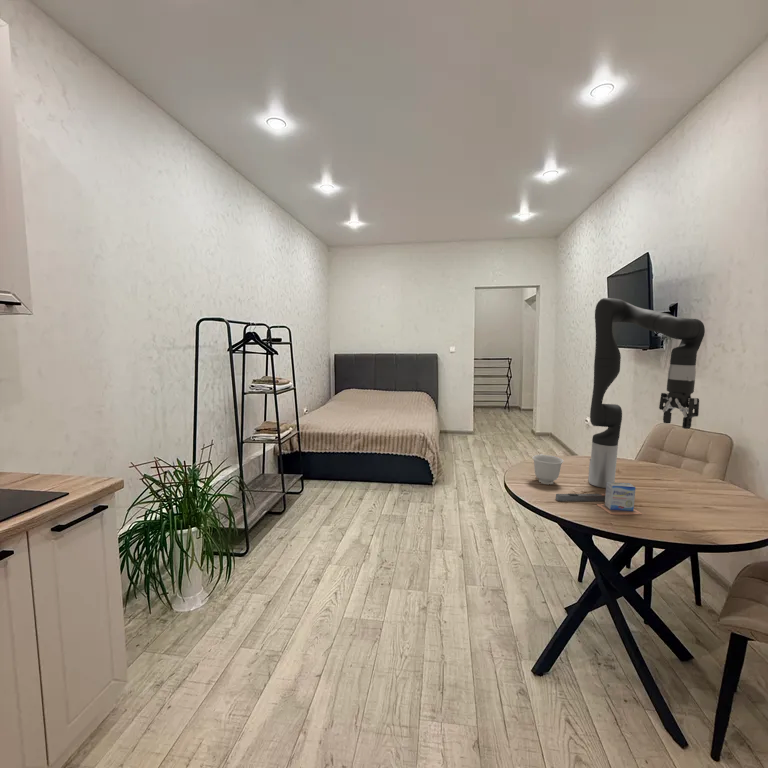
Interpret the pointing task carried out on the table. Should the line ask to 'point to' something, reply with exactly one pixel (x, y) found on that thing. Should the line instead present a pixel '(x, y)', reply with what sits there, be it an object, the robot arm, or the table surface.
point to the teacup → (547, 468)
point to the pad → (617, 510)
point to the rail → (580, 497)
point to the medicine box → (620, 496)
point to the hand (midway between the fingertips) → (676, 425)
